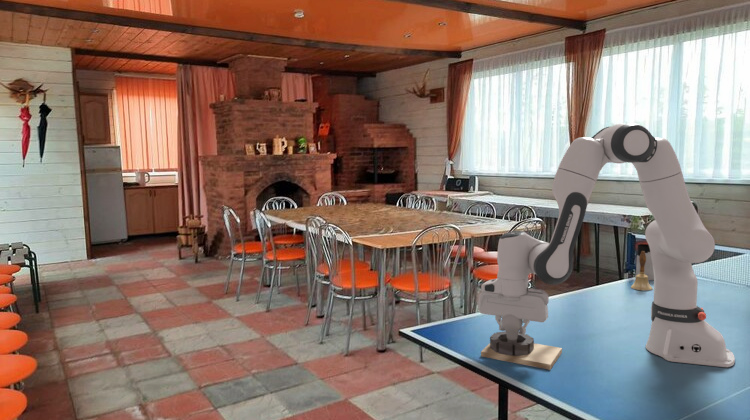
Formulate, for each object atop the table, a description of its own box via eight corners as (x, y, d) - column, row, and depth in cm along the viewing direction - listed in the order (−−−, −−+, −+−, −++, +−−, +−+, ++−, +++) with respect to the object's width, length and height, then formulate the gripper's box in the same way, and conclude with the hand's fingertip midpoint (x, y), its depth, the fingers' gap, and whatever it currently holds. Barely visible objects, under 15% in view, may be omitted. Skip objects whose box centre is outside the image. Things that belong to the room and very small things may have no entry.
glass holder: (638, 279, 244) (639, 247, 242) (628, 272, 257) (630, 241, 256) (659, 280, 242) (660, 247, 240) (648, 273, 256) (649, 241, 254)
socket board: (561, 352, 160) (562, 338, 160) (550, 369, 148) (550, 354, 148) (496, 341, 171) (496, 327, 170) (480, 356, 159) (481, 341, 158)
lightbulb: (511, 352, 157) (511, 315, 155) (497, 345, 162) (497, 310, 161) (527, 348, 159) (527, 312, 158) (512, 341, 165) (512, 307, 164)
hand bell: (628, 285, 234) (629, 249, 233) (648, 285, 233) (649, 249, 231) (634, 290, 226) (635, 253, 224) (655, 291, 225) (657, 253, 223)
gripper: (551, 287, 156) (550, 334, 158) (483, 280, 167) (483, 323, 168) (545, 293, 151) (545, 340, 152) (476, 284, 161) (476, 329, 163)
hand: (512, 331), depth 160 cm, fingers closed on lightbulb, 5 cm apart
